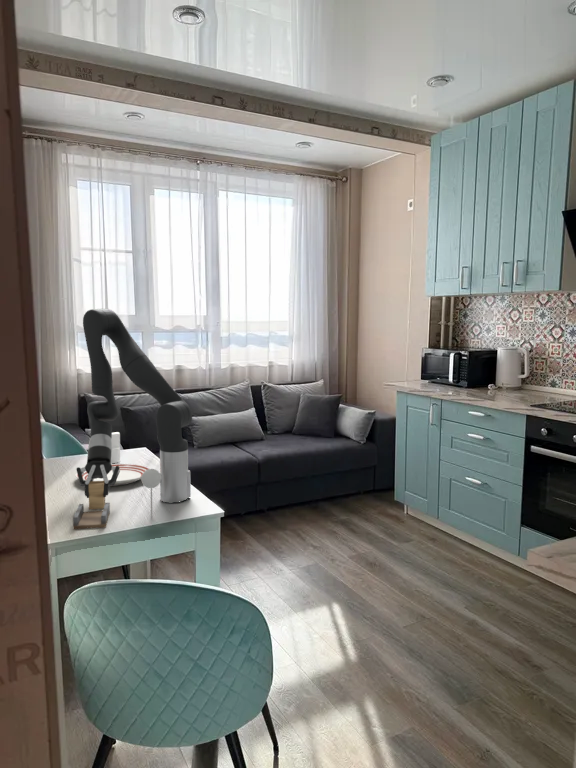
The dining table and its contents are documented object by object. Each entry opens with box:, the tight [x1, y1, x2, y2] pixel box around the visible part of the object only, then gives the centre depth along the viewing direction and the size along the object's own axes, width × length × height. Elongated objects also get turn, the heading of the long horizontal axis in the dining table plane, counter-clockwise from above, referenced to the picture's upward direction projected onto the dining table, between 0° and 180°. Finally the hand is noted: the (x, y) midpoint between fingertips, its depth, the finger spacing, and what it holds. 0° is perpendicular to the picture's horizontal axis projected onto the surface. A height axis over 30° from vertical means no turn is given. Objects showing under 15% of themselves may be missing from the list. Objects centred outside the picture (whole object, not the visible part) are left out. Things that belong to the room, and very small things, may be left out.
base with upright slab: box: [111, 431, 121, 464], centre depth 236 cm, size 9×9×12 cm
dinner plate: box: [74, 463, 151, 487], centre depth 210 cm, size 28×27×3 cm
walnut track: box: [72, 502, 111, 530], centre depth 167 cm, size 12×9×4 cm
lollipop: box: [140, 468, 162, 517], centre depth 171 cm, size 6×6×15 cm
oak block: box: [88, 481, 106, 510], centre depth 179 cm, size 4×4×8 cm
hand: (96, 496), depth 177 cm, fingers closed on oak block, 4 cm apart
